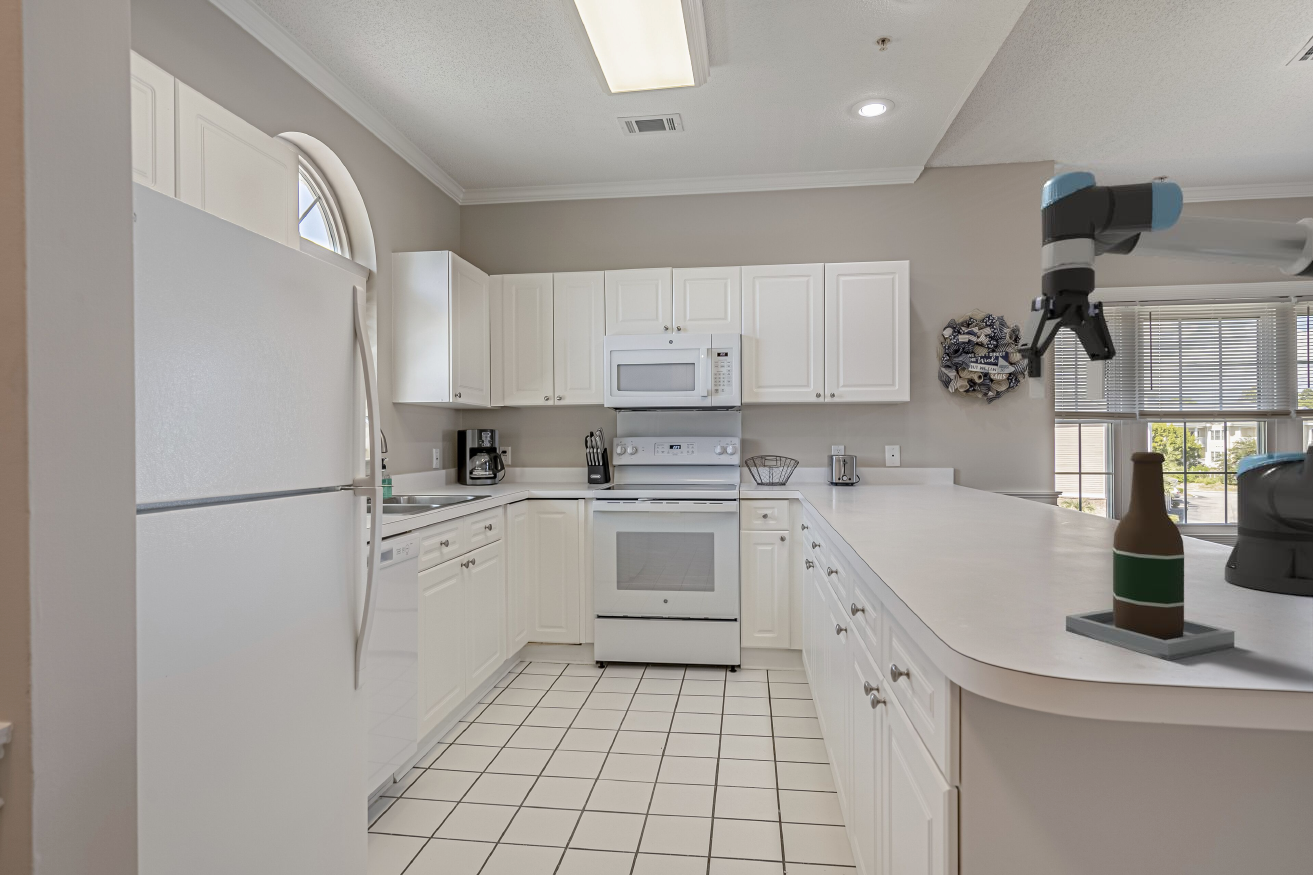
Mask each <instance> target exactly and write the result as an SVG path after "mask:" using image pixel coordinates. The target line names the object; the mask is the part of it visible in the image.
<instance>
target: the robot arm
mask: <svg viewBox="0 0 1313 875" xmlns="http://www.w3.org/2000/svg"><path fill="white" fill-rule="evenodd" d="M1183 205H1184V194H1183V190H1182V188H1181V187H1180V185H1178V184H1177V183H1175V182H1172V181H1170V182H1167V181H1165V182H1164V181H1163V182H1161V181H1158V182H1157V181H1151V182H1144V183H1143V182H1142V183H1132V184H1130V183H1129V184H1119V185H1117V184H1116V185H1097V181H1096V177H1095V175H1094V174H1093V173H1092V172H1089V171H1071V172H1066V173H1061V174H1058V175H1056V176H1053V177H1052V178H1050V179H1049V180H1048V181H1047V182H1046V183H1045V184H1044V186H1043V187H1042V195H1041V207H1040V212H1041V242H1042V243H1041V249H1042V251H1041V254H1042V255H1041V270H1042V272H1044V273H1043V274H1042V276H1041V295H1042V296H1040V297H1036V298H1033V299H1032V300H1031V309H1030V314H1029V316H1028V318H1027V322H1026V325H1025V327H1024V330H1023V332H1022V335H1021V339H1020V341H1019V343H1018V346H1017V349H1016V351H1017V353H1018V354H1019V355H1020V356H1021V358H1022V359H1023V360H1025V359H1027V376H1028V380H1029V382H1028V383H1029V384H1028V385H1029V387H1028V388H1029V390H1028V391H1029V392H1028V393H1029V395H1028V396H1029V399H1032V400H1033V399H1048V397H1049V396H1048V395H1049V394H1048V393H1049V392H1048V382H1049V380H1048V377H1049V376H1048V372H1049V371H1048V366H1049V365H1048V364H1049V363H1048V362H1049V357H1046V356H1045V357H1044V355H1045V353H1046V351H1047V350H1048V348H1050V345H1051V344H1052V342H1053V341H1054V339H1055V338H1056V335H1057V334H1058V333H1059V331H1060V329H1061V328H1065V329H1069V330H1070V331H1071V332H1074V333H1075V335H1076V337H1077V338H1078V339H1077V340H1079V342H1080V344H1081V345H1082V347H1083V349H1084V351H1085V353H1086V355H1087V357H1088V358H1089V360H1090V361H1086V364H1085V365H1086V370H1085V371H1086V374H1085V375H1086V385H1085V386H1086V390H1085V392H1086V396H1085V397H1086V398H1085V399H1086V400H1087V401H1089V400H1106V378H1107V371H1106V370H1107V361H1109V360H1113V359H1114V357H1116V355H1117V353H1116V349H1115V345H1114V343H1113V340H1112V337H1111V334H1110V330H1109V328H1108V324H1107V321H1106V318H1105V314H1104V306H1103V305H1104V304H1103V302H1102V301H1100V300H1098V301H1094V302H1093V301H1092V302H1090V301H1089V295H1090V294H1091V293H1093V292H1094V291H1095V290H1096V277H1095V276H1096V274H1095V273H1096V270H1094V269H1093V268H1094V266H1095V265H1096V257H1100V256H1103V254H1108V255H1111V254H1112V255H1124V256H1133V257H1134V256H1135V257H1137V256H1138V257H1144V258H1145V257H1147V258H1149V257H1150V258H1158V259H1167V260H1169V259H1170V260H1181V261H1182V260H1183V261H1191V262H1193V261H1194V262H1203V263H1204V262H1205V263H1217V264H1227V265H1228V264H1229V265H1240V266H1250V267H1260V268H1261V267H1262V268H1263V267H1264V268H1275V269H1276V268H1277V269H1279V271H1280V272H1281V273H1282V274H1283V275H1286V276H1297V277H1306V278H1307V277H1308V278H1313V217H1305V218H1303V219H1300V220H1299V221H1297V222H1285V221H1275V220H1274V221H1273V220H1261V219H1259V220H1258V219H1247V218H1246V219H1244V218H1232V217H1218V216H1203V215H1188V214H1182V210H1183V207H1184V206H1183ZM1235 477H1236V478H1235V480H1236V482H1237V487H1236V488H1237V489H1236V490H1237V497H1236V498H1237V500H1236V502H1237V515H1236V516H1237V521H1236V522H1237V534H1236V535H1237V537H1236V542H1235V543H1234V545H1233V548H1232V549H1231V553H1230V554H1229V556H1228V560H1227V561H1226V563H1225V566H1224V580H1225V581H1226V582H1228V583H1230V584H1233V585H1236V586H1240V587H1245V588H1249V589H1254V590H1259V591H1260V590H1261V591H1266V592H1267V591H1268V592H1272V593H1281V594H1291V595H1302V596H1313V442H1310V444H1308V446H1307V448H1306V451H1305V452H1304V451H1303V452H1301V451H1300V452H1276V453H1260V454H1250V455H1247V456H1244V457H1242V458H1241V459H1240V460H1239V461H1238V464H1237V472H1236V476H1235Z"/></svg>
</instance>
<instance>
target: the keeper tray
mask: <svg viewBox="0 0 1313 875" xmlns="http://www.w3.org/2000/svg"><path fill="white" fill-rule="evenodd" d="M1065 631H1066V632H1070V633H1074V634H1076V635H1080V636H1083V637H1086V638H1087V637H1088V638H1091V639H1094V640H1098V641H1100V642H1104V643H1108V644H1110V645H1111V644H1112V645H1115V646H1118V647H1120V648H1121V647H1122V648H1124V649H1128V650H1132V651H1135V652H1137V653H1140V654H1141V653H1142V654H1145V655H1148V656H1152V657H1155V658H1159V659H1162V660H1166V661H1174V660H1177V659H1181V658H1182V659H1183V658H1187V657H1192V656H1197V655H1201V654H1202V655H1203V654H1207V653H1211V652H1217V651H1222V650H1225V649H1226V650H1227V649H1230V648H1234V647H1235V630H1231V629H1226V628H1223V627H1218V626H1213V625H1210V624H1206V623H1201V622H1197V621H1193V620H1188V619H1185V618H1184V630H1183V637H1180V638H1175V639H1170V640H1162V639H1158V638H1154V637H1150V636H1147V635H1143V634H1139V633H1136V632H1132V631H1128V630H1124V629H1121V628H1117V627H1115V625H1114V618H1113V608H1109V609H1101V610H1098V611H1097V610H1096V611H1095V610H1094V611H1089V612H1083V613H1082V612H1081V613H1077V614H1070V615H1065Z"/></svg>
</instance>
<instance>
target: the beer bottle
mask: <svg viewBox="0 0 1313 875" xmlns="http://www.w3.org/2000/svg"><path fill="white" fill-rule="evenodd" d="M1130 461H1132V462H1133V463H1132V464H1133V466H1132V474H1131V475H1132V476H1131V490H1130V500H1129V505H1128V511H1127V513H1126V514H1125V515H1124V516H1123V517H1122V519H1121V520H1120V521H1119V523H1118V525H1117V526H1116V529H1115V531H1114V534H1113V544H1112V580H1113V581H1112V609H1113V618H1114V625H1115V627H1117V628H1121V629H1124V630H1128V631H1132V632H1136V633H1139V634H1143V635H1147V636H1150V637H1154V638H1158V639H1162V640H1170V639H1175V638H1180V637H1183V630H1184V619H1185V548H1184V540H1183V537H1182V534H1181V533H1180V531H1179V527H1178V526H1177V525H1176V524H1175V522H1174V521H1173V519H1171V517H1170V515H1169V513H1168V509H1167V505H1166V496H1165V495H1166V494H1165V482H1164V479H1165V478H1164V468H1163V463H1165V462H1166V458H1165V455H1164V453H1162V452H1159V451H1158V452H1157V451H1156V452H1155V451H1140V452H1139V451H1137V452H1132V454H1131V457H1130Z"/></svg>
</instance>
